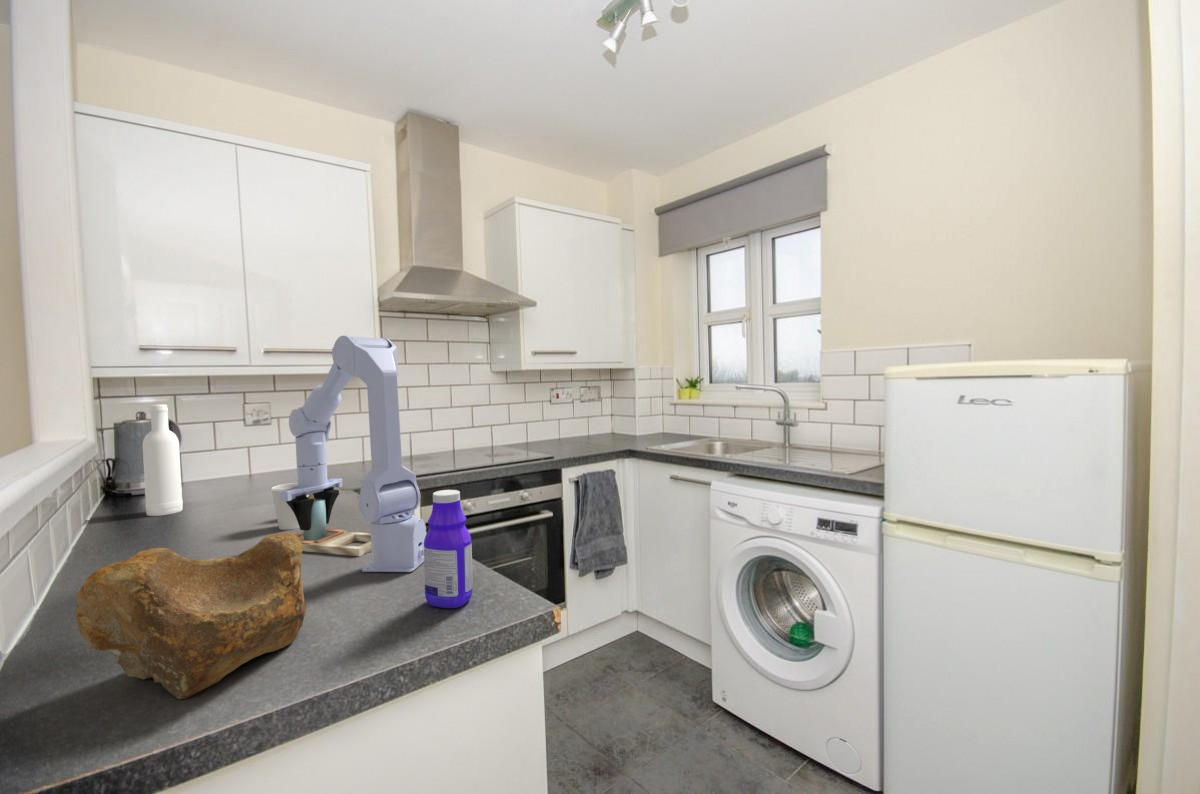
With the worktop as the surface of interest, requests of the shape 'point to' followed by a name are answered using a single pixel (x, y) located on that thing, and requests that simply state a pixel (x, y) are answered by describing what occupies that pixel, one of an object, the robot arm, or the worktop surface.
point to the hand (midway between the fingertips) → (314, 526)
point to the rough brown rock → (194, 611)
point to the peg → (317, 521)
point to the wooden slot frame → (338, 543)
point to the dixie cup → (284, 508)
